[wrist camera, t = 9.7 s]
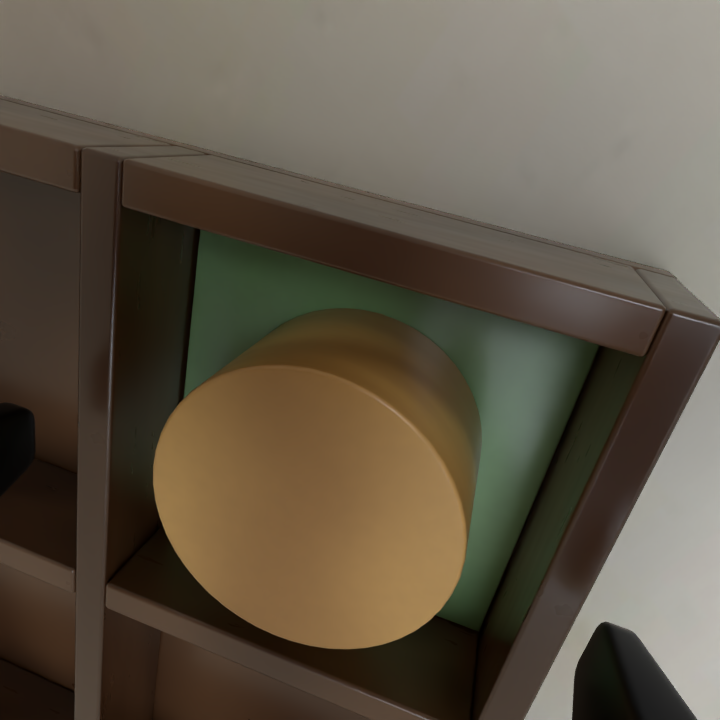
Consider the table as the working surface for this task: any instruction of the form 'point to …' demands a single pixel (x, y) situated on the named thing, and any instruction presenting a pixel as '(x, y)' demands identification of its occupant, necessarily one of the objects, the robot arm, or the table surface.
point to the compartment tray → (233, 337)
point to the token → (325, 480)
